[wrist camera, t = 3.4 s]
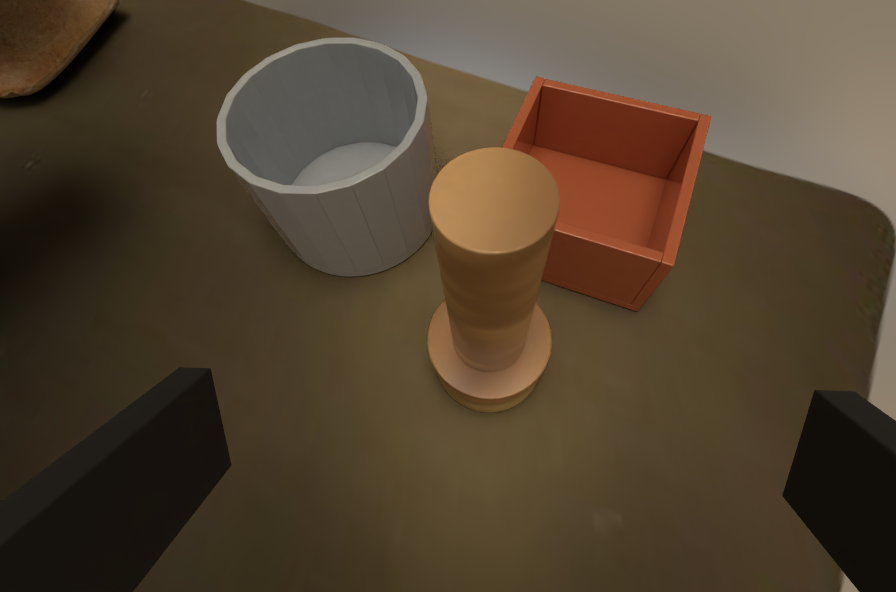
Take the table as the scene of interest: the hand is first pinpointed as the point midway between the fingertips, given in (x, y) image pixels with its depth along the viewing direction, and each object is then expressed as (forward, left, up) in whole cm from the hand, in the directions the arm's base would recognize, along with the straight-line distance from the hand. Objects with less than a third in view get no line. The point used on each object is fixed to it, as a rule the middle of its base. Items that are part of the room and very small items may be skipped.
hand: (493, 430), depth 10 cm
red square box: (0, +17, -14) cm, 22 cm away
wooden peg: (-2, +6, -14) cm, 16 cm away
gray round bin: (-14, +13, -14) cm, 24 cm away
